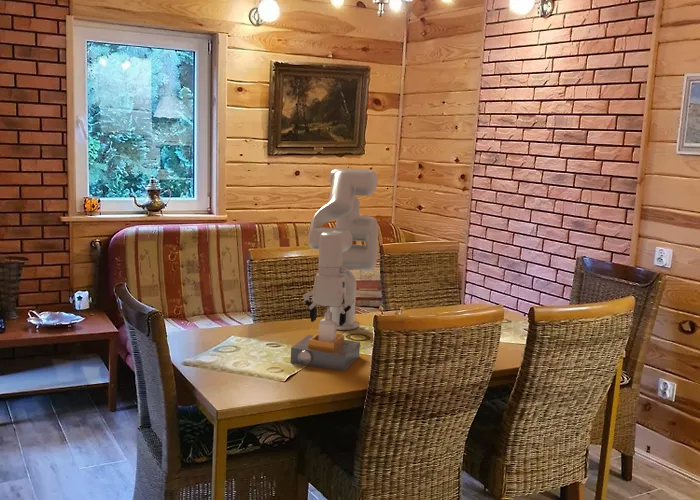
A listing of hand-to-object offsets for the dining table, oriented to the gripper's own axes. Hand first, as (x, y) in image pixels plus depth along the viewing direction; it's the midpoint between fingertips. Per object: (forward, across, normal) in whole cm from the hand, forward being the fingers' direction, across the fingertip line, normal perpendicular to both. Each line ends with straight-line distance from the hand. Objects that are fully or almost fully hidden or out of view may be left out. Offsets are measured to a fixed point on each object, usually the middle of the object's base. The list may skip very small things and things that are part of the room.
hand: (327, 322), depth 233 cm
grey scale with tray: (+12, 0, 0) cm, 12 cm away
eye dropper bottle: (+7, 0, 0) cm, 7 cm away
